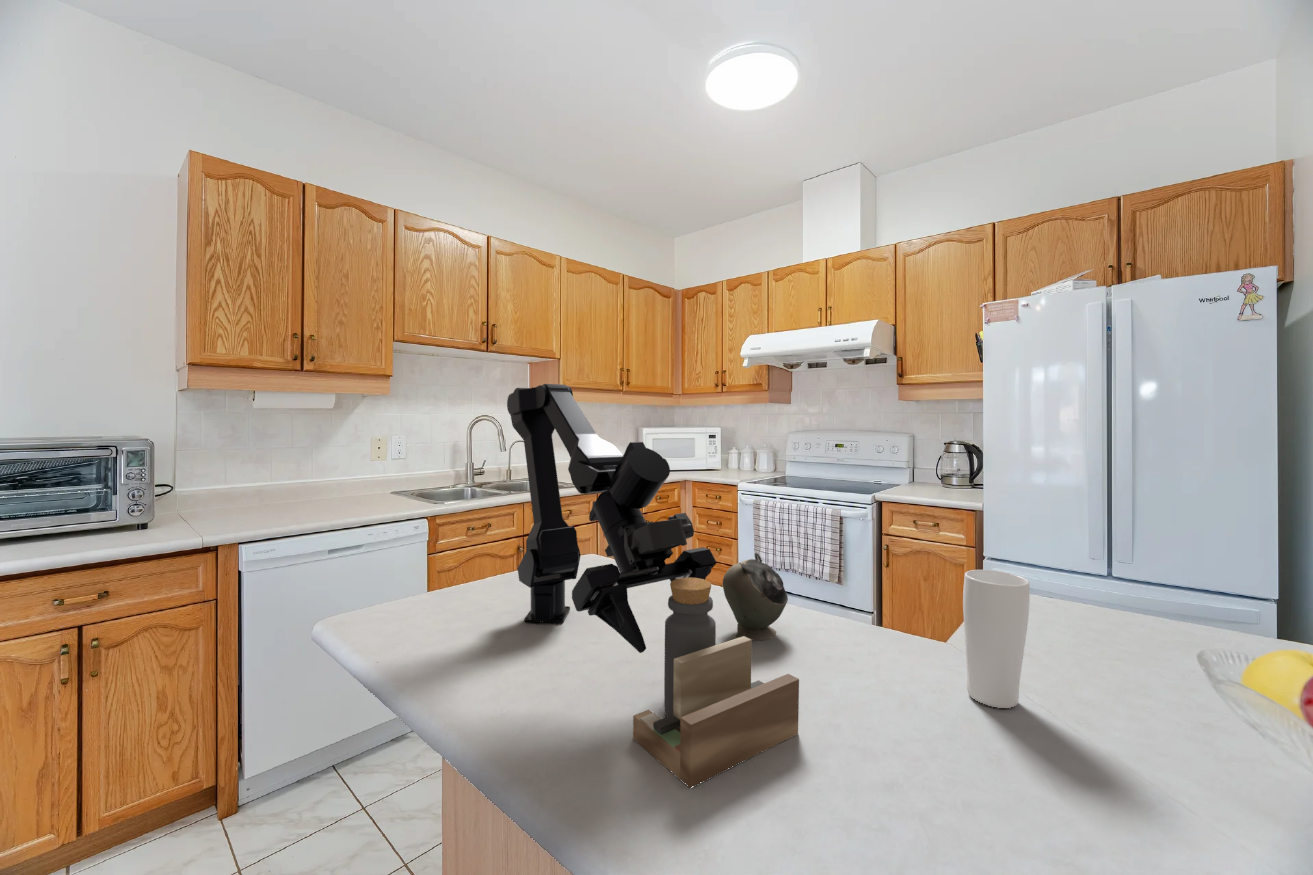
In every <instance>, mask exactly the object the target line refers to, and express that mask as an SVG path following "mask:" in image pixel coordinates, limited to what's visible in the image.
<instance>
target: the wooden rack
mask: <svg viewBox="0 0 1313 875" xmlns="http://www.w3.org/2000/svg"><path fill="white" fill-rule="evenodd" d="M763 683H764V684H762V685H759V686H757V687H754V688H752V689H749V690H747V691H744V692H742V693H739V694H737V695H735V696H732V697H730V698H727V699H725V700H722V701H720V702H717V703H715V704H712V705H710V706H707V707H705V708H703V709H700V710H698V711H695V712H693V713H690V714H688V715H685V716H683V717H681V733H680V732H679V731H677V730H676V729H675V728H673V729H671V730H668V731H666V732H664V733H661V734H660V733H659V732H658V731H656V730H655V729H654V728H653V722H655V721H658V720H660V719H663V717H662V718H661V716H660V715H658V714H656V713H655V712H653V711H652V710H650V709H646V710H643V711H642V712H639V713H636V714H634V715H633V716H632V717H633V718H632V719H633V720H632V726H633V727H632V739H633V740H634V741H635V742H637V743H638V744H639V746H641V747H642V748H643V749H644V750H646V752H647V753H649V754H650V755H651V756H652V757H653V758H654V759H655V760H657V761H658V762H659V763H660V764H661V765H662V766H664V767H665V768H666V769H667V768H668V769H669V770H670V771H669V770H668V769H667V770H668V771H669V772H671V771H672V772H673V773H674V774H675V775H676V776H677V777H678V778H677V777H676V776H675V775H674V774H673V773H672V772H671V773H672V774H673V775H674V776H675V777H676V778H677V779H679V780H680V779H681V780H682V781H683V782H684V783H686V784H687V785H688V786H689V787H690V788H691V787H692V786H695V785H697V784H699V785H701V784H700V782H703V781H705V782H707V781H708V780H707V779H709V778H711V777H712V778H714V777H716V776H718V775H720V774H722V773H724V772H726V771H728V770H729V769H728V768H730V769H732V768H733V767H732V766H734V767H736V766H737V765H736V764H738V763H740V762H742V761H744V760H746V761H747V760H749V759H748V758H750V759H752V758H754V757H755V756H757V755H759V754H761V753H763V752H765V751H767V750H769V749H771V748H773V747H775V746H778V745H779V744H780V742H781V743H783V742H784V740H785V741H786V740H789V739H791V738H792V737H795V736H797V735H798V734H799V711H800V710H799V709H800V708H799V706H800V705H799V704H800V699H799V698H800V689H799V688H800V679H799V678H798V677H796V676H794V675H792V674H790V673H787V674H784V675H782V676H779V677H777V678H774V679H772V680H769V681H767V682H763ZM788 738H789V739H788ZM778 743H779V744H778ZM762 751H763V752H762ZM758 753H759V754H758ZM756 754H757V755H756ZM754 755H755V756H754ZM753 756H754V757H753ZM751 757H752V758H751ZM744 762H745V761H744ZM742 763H743V762H742ZM740 764H741V763H740ZM735 765H736V766H735ZM738 765H739V764H738ZM731 767H732V768H731ZM727 769H728V770H727ZM725 770H726V771H725ZM723 771H724V772H723ZM721 772H722V773H721ZM719 773H720V774H719ZM717 774H718V775H717ZM715 775H716V776H715ZM713 776H714V777H713ZM712 778H711V779H712ZM681 780H680V781H681ZM706 780H707V781H706ZM709 780H710V779H709ZM682 781H681V782H682ZM683 782H682V783H683ZM684 783H683V784H684ZM703 783H704V782H703ZM688 786H687V787H688ZM697 786H698V785H697ZM689 787H688V788H689ZM695 787H696V786H695ZM690 788H689V789H690ZM691 789H692V788H691Z"/></svg>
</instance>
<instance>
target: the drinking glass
mask: <svg viewBox="0 0 1313 875" xmlns="http://www.w3.org/2000/svg"><path fill="white" fill-rule="evenodd" d="M962 589H963V592H962V611H963V612H962V615H963V628H964V644H965V656H966V657H965V659H966V660H965V661H966V691H967V693H968V695H969V696H970V698H972V699H973V700H974V699H975V700H974V701H976V702H977V701H978V702H977V703H979V702H980V703H979V704H981V703H983V704H982V705H984V704H986V705H989V706H993V707H998V708H997V709H999V708H1009V709H1012V708H1011V707H1013V708H1015V707H1016V706H1017V705H1018V704H1019V701H1020V698H1019V697H1020V682H1021V676H1022V670H1023V668H1022V667H1023V663H1024V662H1023V660H1024V655H1025V654H1024V653H1025V646H1026V639H1027V634H1028V633H1027V632H1028V625H1029V619H1030V618H1029V616H1030V598H1031V597H1030V596H1031V595H1030V593H1031V592H1030V581H1029V580H1027V578H1025V577H1023V576H1021V575H1017V574H1014V573H1010V572H1005V571H999V570H992V569H972V570H968V571H965V573H964V579H963V588H962ZM986 705H985V706H986ZM989 706H988V707H989ZM1014 706H1015V707H1014ZM993 707H992V708H993Z"/></svg>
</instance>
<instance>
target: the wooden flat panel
mask: <svg viewBox="0 0 1313 875" xmlns="http://www.w3.org/2000/svg"><path fill="white" fill-rule="evenodd" d="M752 641H753V640H751V639H749V638H747V637H745V636H743V637H740V638H738V637H735V638H734V639H731V640H728V641H724V642H722V643H718V644H716V645H715V646H712V647H709V648H706V649H703V650H699V651H696V652H693V653H690V654H687V655H684V656H681V657H678V658H675V659H674V687H673V715H670V716H668V717H667V716H665V717H662V719H660V720H658V721H655V722H653V728H654V729H655V730H656V731H658V732H659V733H660V734H661V733H664V732H666V731H668V730H671V729H673V728H675V729H676V730H677V731H679V732H680V733H681V717H683V716H685V715H688V714H690V713H693V712H695V711H698V710H700V709H703V708H705V707H707V706H710V705H712V704H715V703H717V702H720V701H722V700H725V699H727V698H730V697H732V696H735V695H737V694H739V693H742V692H744V691H747V690H749V689H752V688H754V687H757V686H759V685H762V684H764V683H765V682H762V681H761V680H755V681H754V682H752Z"/></svg>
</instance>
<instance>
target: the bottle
mask: <svg viewBox="0 0 1313 875" xmlns="http://www.w3.org/2000/svg"><path fill="white" fill-rule="evenodd" d="M669 585H670V591H671V595H670V596H669V597H668V599H667V600H668V602H667V603H668V604H667V606H668V609H669V610H670V611H672V614H670V615H669V616H667V618H665V621H664V672H663V673H664V675H663V676H664V679H663V680H664V684H663V686H664V687H663V688H664V689H663V690H664V694H663V697H664V699H663V700H664V708H663V709H664V714H665V716H666V717H668V716H670V715H673V687H674V659H675V658H678V657H681V656H684V655H687V654H690V653H693V652H696V651H699V650H703V649H706V648H709V647H712V646H715V645H717V642H716V641H717V640H716V639H717V638H716V635H717V632H716V631H717V629H716V628H717V625H716V624H717V623H716V621H715V619H714V618H713V617H712V616H710V615H709V614H708V613H709V612H711V611H712V610H713V607H714V602H713V598H712V597H711V596H710V595H711V594H710V593H711V589H712V583H711V581H709V580H707V579H705V580H704V579H700V578H679V579H675V580H673V581H672V582H671V581H670V583H669Z"/></svg>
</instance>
